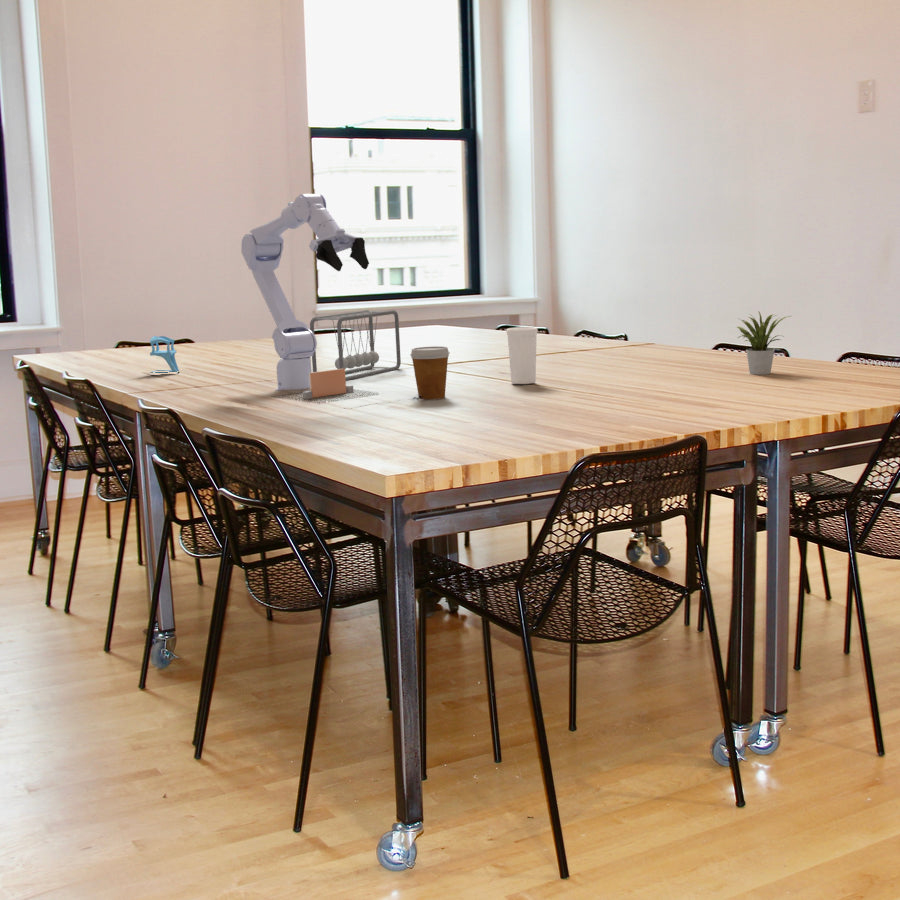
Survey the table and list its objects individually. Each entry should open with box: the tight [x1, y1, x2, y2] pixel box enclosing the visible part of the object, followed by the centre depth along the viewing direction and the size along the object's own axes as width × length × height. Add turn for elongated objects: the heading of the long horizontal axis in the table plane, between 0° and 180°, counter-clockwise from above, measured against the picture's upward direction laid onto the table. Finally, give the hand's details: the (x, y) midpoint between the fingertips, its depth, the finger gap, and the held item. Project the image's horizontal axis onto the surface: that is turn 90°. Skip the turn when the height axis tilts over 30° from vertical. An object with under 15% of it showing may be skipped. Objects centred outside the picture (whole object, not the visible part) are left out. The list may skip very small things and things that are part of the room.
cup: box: [506, 326, 539, 385], centre depth 284 cm, size 8×8×14 cm
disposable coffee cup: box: [409, 345, 450, 401], centre depth 266 cm, size 10×10×12 cm
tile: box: [309, 368, 347, 399], centre depth 272 cm, size 1×10×6 cm, turn 131°
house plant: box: [736, 311, 791, 376], centre depth 285 cm, size 14×14×16 cm
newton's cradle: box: [309, 309, 402, 382], centre depth 320 cm, size 30×10×18 cm, turn 150°
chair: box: [149, 335, 180, 373], centre depth 343 cm, size 8×8×12 cm
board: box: [272, 384, 378, 404], centre depth 273 cm, size 22×20×3 cm
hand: (353, 267), depth 263 cm, fingers open, 7 cm apart
